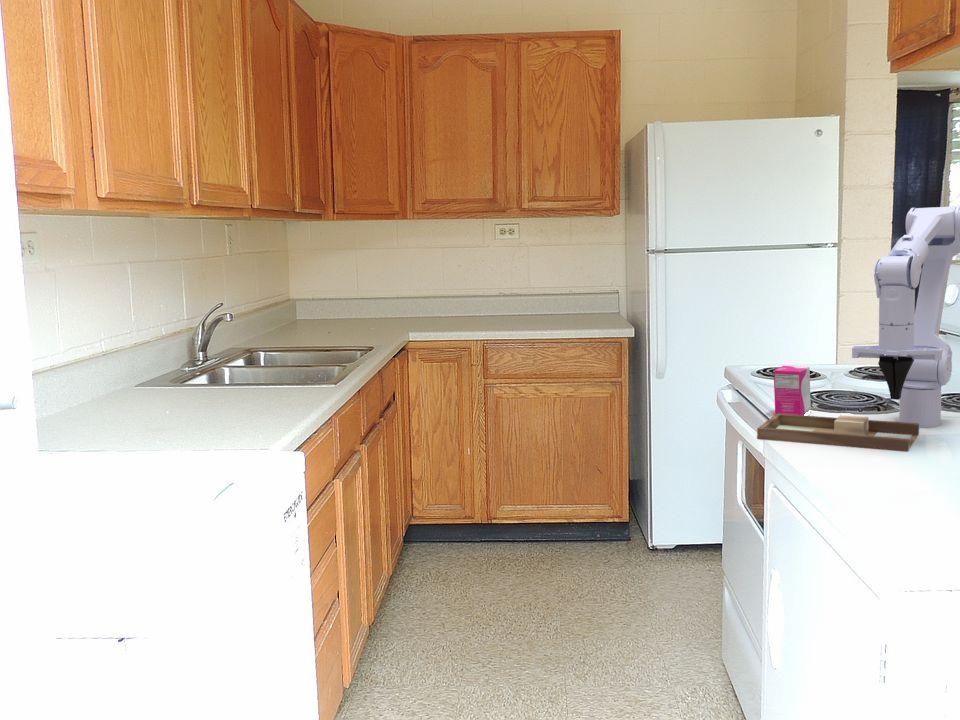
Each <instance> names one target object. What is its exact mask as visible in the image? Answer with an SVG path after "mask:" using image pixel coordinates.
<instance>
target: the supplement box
mask: <svg viewBox="0 0 960 720" xmlns="http://www.w3.org/2000/svg"><path fill="white" fill-rule="evenodd" d="M810 372H811V371H810V366H809V365H807V366H806V365H802V366H801V365H799V366H798V365H782V366H781V367H777V368H776V369H773V388H774V389H773V391H774V392H773V393H774V415H775V414H789V415H804V414H805V413H806V412H808V411H809V410H810V409H811V410H812V408H811V407H812V406H811V405H812V404H811V376H810V375H811V374H810Z"/></svg>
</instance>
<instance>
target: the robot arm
mask: <svg viewBox="0 0 960 720" xmlns="http://www.w3.org/2000/svg"><path fill="white" fill-rule="evenodd" d="M905 233H906V234H904V235H903V236H901V237H900V238H898V240H897V241H896V243H895V244H894V246H893V247H892V249H891V250H890V252H889V253H888V255H884V256H882V257H881V258H880V259H877V260H876V262H875V266H874V271H873V278H874V283H875V284H874V285H875V288H876V289H875V290H876V298H877V299H879V300H878V301H879V302H878V303H879V305H878V345H853V347H851V359H859V358H860V359H862V358H863V359H864V358H865V359H868V358H869V359H878V363H877V365H878V366H879V368H880V370H881V372H882V374H883V376H884V379H885V381H886V384H887V387H888V391H889V395H890V397H889V398H890V400H899V407H898V408H899V409H898V410H899V411H898V412H899V414H898V415H899V417H898V422H906V423H919V429H920V428H921V429H930V428H931V429H932V428H937V427H940V426H941V425H942V424H941V423H942V422H941V418H942V417H941V415H942V387H943V386H946V385H947V384H948V383H949V382H950V380H951V377H952V370H953V368H952V367H953V364H952V363H953V360H952V358H953V351H952V349H951V345H949V344H948V343H947V342H946V341H945V340H943V339H942V338H941V337H940V329H941V328H940V327H941V323H942V318H943V312H944V311H943V309H944V305H945V299H946V292H947V286H948V280H949V275H950V274H949V273H950V269H951V265H952V262H953V258H954V257H955V256H957V255H959V254H960V205H955V206H954V205H953V206H939V207H938V206H936V207H933V206H932V207H918V208H917V207H910V209H909V210H908V212H907V213H906V216H905ZM918 286H919V287H918ZM917 287H918V293H917V299H916V296H915V295H916V288H917ZM915 305H916V306H915Z"/></svg>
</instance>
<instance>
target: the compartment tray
mask: <svg viewBox="0 0 960 720" xmlns="http://www.w3.org/2000/svg"><path fill="white" fill-rule="evenodd" d="M837 418H838V417H829V416H818V415H817V416H814V415H808V416H804V415H789V414H775V413H774V414H773V416H771V417H770V418H769V419H768V420H766V421H765V422H764V423H762V424H761V425H760V426H758V427H757V431H756V434H757V435H756V436H757V437H756V438H757V440H766V441H777V442H788V443H789V442H790V443H803V444H813V445H825V446H837V447H846V448H848V447H849V448H859V449H860V448H861V449H870V450H871V449H872V450H884V451H885V450H886V451H894V452H895V451H897V452H909V451H910V449H911V447H913V444H914V442H915V441H916V440H917V438H918V436H919V435H920V428H919V423H906V422H899V421H890V420H889V421H888V420H877V419H876V420H875V419H869V422H868V436H865V435H852V434H839V433H834V421H835V420H836V419H837ZM877 433H881V434H882V433H883V434H895V435H906V436H907V435H910V437H909V438H901V437H891V436H888V437H887V436H876V434H877Z"/></svg>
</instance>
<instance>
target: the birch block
mask: <svg viewBox="0 0 960 720" xmlns="http://www.w3.org/2000/svg"><path fill="white" fill-rule="evenodd" d="M836 418H837V419H836V420H835V421H834V433H839V434H852V435H865V436H868V422H869V420H870V417H869V416H856V415H855V416H854V415H842V414H841V415H839V416H838V417H836Z"/></svg>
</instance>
